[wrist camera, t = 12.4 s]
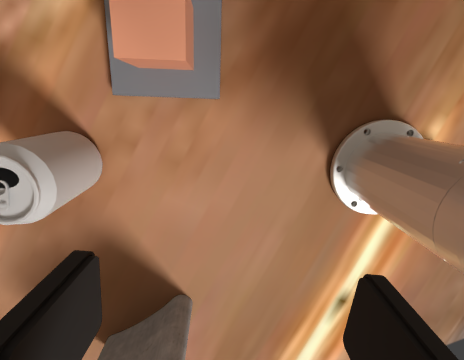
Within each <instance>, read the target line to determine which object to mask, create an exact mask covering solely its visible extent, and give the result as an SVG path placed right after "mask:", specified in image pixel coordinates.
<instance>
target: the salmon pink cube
mask: <svg viewBox="0 0 464 360" xmlns="http://www.w3.org/2000/svg"><path fill="white" fill-rule="evenodd" d="M109 5H110V17H111V29H112V40H113V52H114V58H116V59H119V60H121V61H123V62H126V63H128V64H131V65H133V66H135V67H138V68H152V69H175V70H194V22H193V5H192V2H191V0H109Z"/></svg>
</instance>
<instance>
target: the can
mask: <svg viewBox="0 0 464 360" xmlns="http://www.w3.org/2000/svg"><path fill="white" fill-rule="evenodd" d="M101 173H102V160H101V155H100V153H99V151H98V150H97V148H96V146H95V145H94V144H93V143H92V142H91V141H90V140H89V139H88V138H86V137H84V136H82V135H80V134H78V133H75V132H70V131H62V132H54V133H49V134H44V135H38V136H33V137H27V138H22V139H17V140H11V141H6V142H0V224H2V225H12V224H27V223H33V222H36V221H38V220H40V219H43V218H44V217H46V216H47V215H49V214H50V213H52V212H53V211H55V210H56V209H58V208H60V207H61V206H63V205H64V204H66V203H67V202H69V201H70V200H72V199H73V198H75V197H76V196H78V195H79V194H81V193H82V192H84V191H85V190H87V189H88V188H90V187H91V186H93V185H94V184H95V183H96V182H97V181H98V179H99V177H100V175H101Z"/></svg>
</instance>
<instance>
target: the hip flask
mask: <svg viewBox="0 0 464 360" xmlns="http://www.w3.org/2000/svg"><path fill="white" fill-rule="evenodd" d="M191 311H192V300H191V299H190V298H189V297H188V296H186V295H177V296H175V297H174V298H173V299H172V300H171V301H170V302H169V303H167V304H166V305H165V306H164V307H163V308H161V309H160V310H159V311H157V312H156V313H154V314H153V315H151V316H150V317H148V318H146V319H145V320H143V321H141V322H140V323H138V324H136V325H134V326H132V327H130V328H128V329H126V330H124V331H121V332H119V333H116V334H114V335H111V336H109V337H108V339H107V341H106V343H105V345H104V347H103V349H102V351H101V353H100V356H99V358H98V360H185V355H186V348H187V340H188V333H189V325H190V318H191Z"/></svg>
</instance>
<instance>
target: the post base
mask: <svg viewBox="0 0 464 360" xmlns="http://www.w3.org/2000/svg"><path fill="white" fill-rule="evenodd" d="M191 2H192V5H193V22H194V70H175V69H152V68H138V67H135V66H133V65H131V64H128V63H126V62H123V61H121V60H119V59H116V58H114V52H113V40H112V29H111V17H110V5H109V0H104V4H105V15H106V26H107V37H108V48H109V59H110V70H111V81H112V92H113V95H124V96H151V97H177V98H204V99H220V56H221V8H222V0H191Z"/></svg>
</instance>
